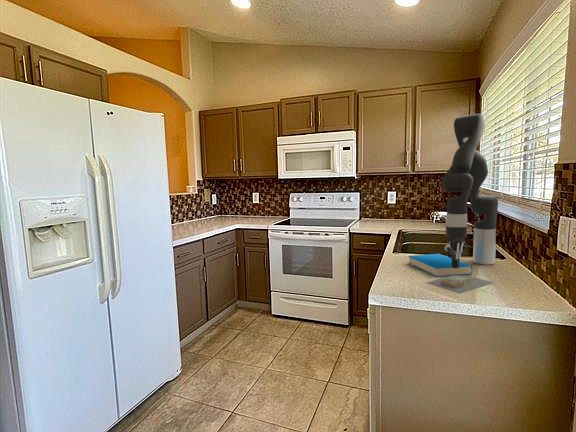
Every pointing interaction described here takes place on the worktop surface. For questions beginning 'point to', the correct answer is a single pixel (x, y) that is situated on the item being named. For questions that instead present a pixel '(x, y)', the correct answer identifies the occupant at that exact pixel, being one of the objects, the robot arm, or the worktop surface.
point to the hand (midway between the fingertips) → (455, 267)
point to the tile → (455, 281)
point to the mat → (473, 285)
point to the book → (439, 265)
